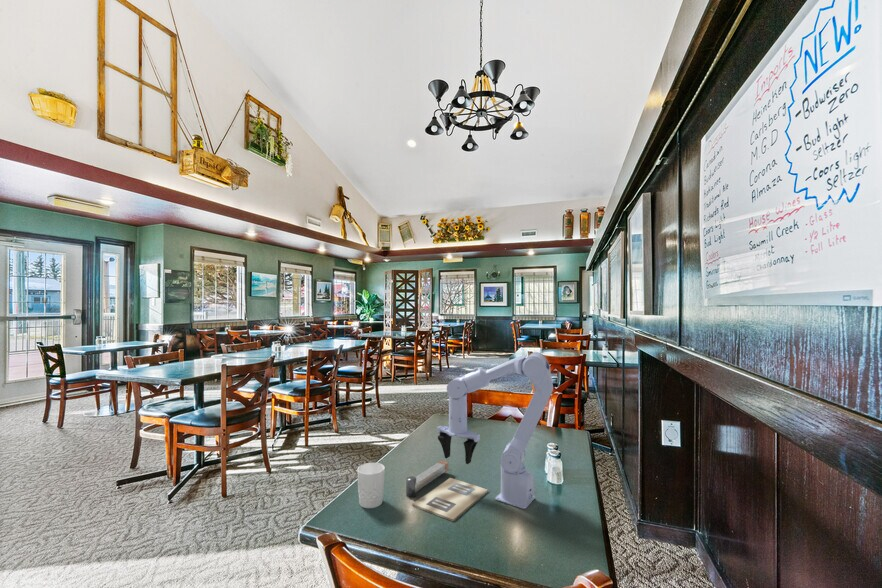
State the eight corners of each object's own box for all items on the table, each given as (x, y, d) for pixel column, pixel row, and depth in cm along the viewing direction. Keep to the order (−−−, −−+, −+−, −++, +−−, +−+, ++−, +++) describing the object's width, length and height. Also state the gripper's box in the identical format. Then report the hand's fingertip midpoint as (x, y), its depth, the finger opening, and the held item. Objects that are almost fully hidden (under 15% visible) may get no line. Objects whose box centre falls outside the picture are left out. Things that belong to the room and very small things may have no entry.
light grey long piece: (440, 470, 136) (440, 456, 136) (448, 472, 134) (448, 458, 134) (403, 495, 119) (404, 479, 119) (412, 498, 117) (412, 482, 117)
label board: (488, 491, 122) (488, 489, 122) (453, 521, 105) (453, 518, 105) (450, 479, 129) (450, 477, 129) (412, 505, 113) (412, 503, 113)
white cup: (351, 505, 113) (351, 470, 113) (368, 493, 120) (368, 460, 120) (373, 512, 109) (373, 476, 109) (389, 499, 116) (390, 465, 116)
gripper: (431, 415, 124) (431, 459, 124) (472, 424, 116) (471, 470, 116) (443, 410, 130) (443, 451, 130) (483, 418, 122) (482, 461, 122)
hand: (457, 460), depth 123 cm, fingers open, 7 cm apart
